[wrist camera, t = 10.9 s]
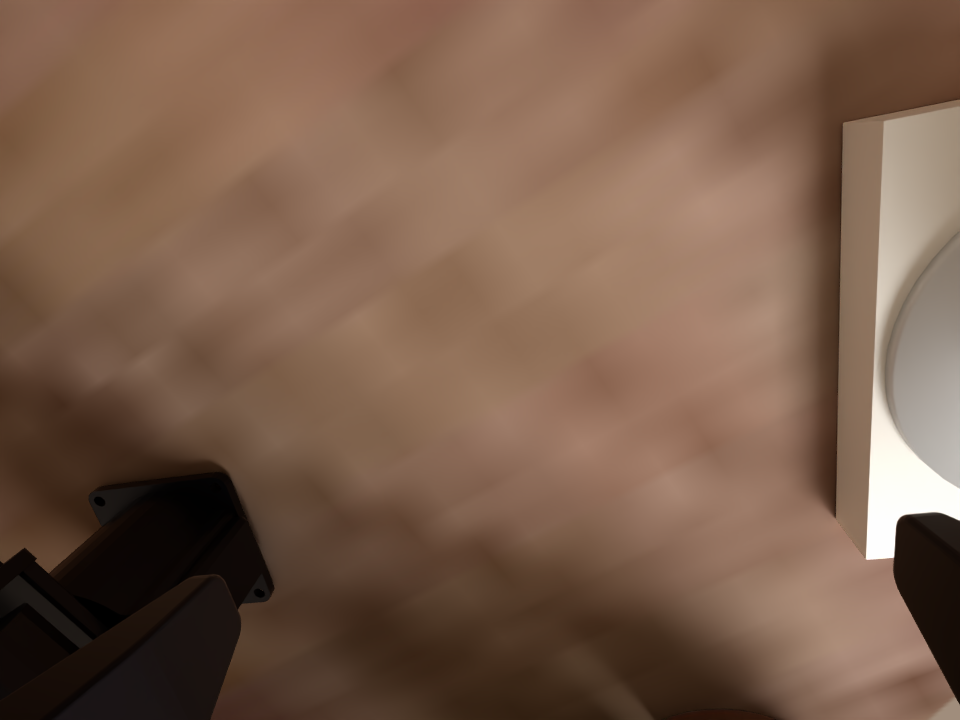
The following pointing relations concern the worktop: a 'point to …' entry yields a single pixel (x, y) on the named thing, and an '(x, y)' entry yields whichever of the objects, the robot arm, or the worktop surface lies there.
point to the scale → (899, 323)
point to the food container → (719, 715)
